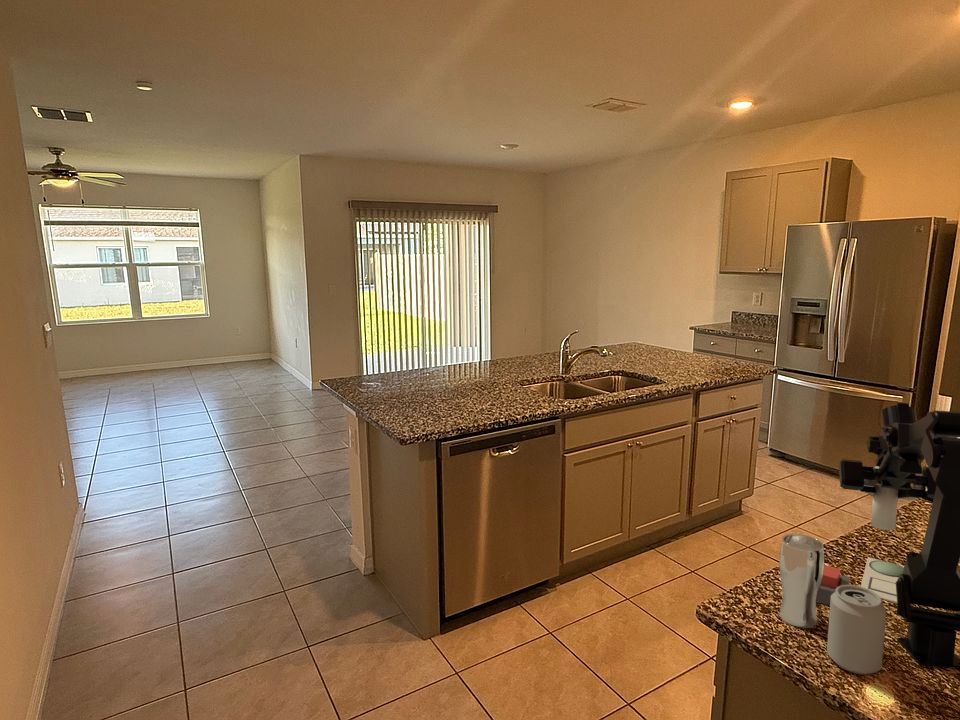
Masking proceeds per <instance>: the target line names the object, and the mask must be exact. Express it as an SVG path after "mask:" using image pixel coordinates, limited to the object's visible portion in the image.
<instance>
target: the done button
mask: <svg viewBox="0 0 960 720" xmlns="http://www.w3.org/2000/svg"><path fill="white" fill-rule="evenodd" d="M840 575H841V568H838V567H834V566H831V565H827V564H824V570H823V577H822V582H821V585H822V586H825V587H829V588H833V589H836V588H837V587H838V586H839V582H840Z"/></svg>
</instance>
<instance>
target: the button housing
mask: <svg viewBox="0 0 960 720" xmlns="http://www.w3.org/2000/svg"><path fill="white" fill-rule="evenodd" d="M842 585H851V577H850V576H846V575H843V574H840V582H839V586H842ZM839 586H838V587H839ZM834 592H836V589H833V588H829V587H825V586H822V585H820V589H819V592H818V595H817V599H816V603H818V604H823V605H825V606H829V607H830V599H831V595H832V594H833V593H834Z"/></svg>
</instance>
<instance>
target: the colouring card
mask: <svg viewBox="0 0 960 720" xmlns="http://www.w3.org/2000/svg"><path fill="white" fill-rule="evenodd" d="M904 566H905V565H903V564H897V563H894V562H891V561H886V560H882V559H877V558H873V557H869V556H868V557H867V560H866V564H865V567H864V571H863V575H862V580H861V584H860V587H863V588H866V589H869V590H870V591H872V592H874V593H876V594H877V595H878V596H879V597H880V598H881V599H882V601H887V602H890V603H894V604H897V593H896V581H897V579H898V578H899V575H900V574H903V570H904V569H903V568H904Z"/></svg>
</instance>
